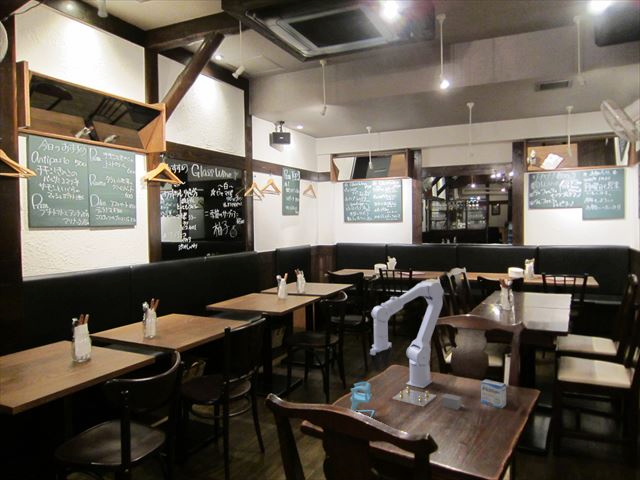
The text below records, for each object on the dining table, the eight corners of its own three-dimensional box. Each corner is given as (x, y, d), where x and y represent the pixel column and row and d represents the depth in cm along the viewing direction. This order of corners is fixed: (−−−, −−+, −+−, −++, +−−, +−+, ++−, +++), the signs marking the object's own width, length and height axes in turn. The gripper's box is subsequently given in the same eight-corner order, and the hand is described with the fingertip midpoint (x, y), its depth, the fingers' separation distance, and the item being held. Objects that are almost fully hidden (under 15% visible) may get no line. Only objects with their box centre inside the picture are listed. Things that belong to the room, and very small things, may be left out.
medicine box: (480, 404, 165) (480, 381, 165) (485, 400, 169) (485, 378, 168) (502, 409, 160) (501, 386, 160) (506, 406, 163) (506, 383, 163)
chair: (352, 410, 162) (352, 378, 162) (374, 412, 160) (374, 380, 159) (347, 419, 155) (346, 385, 155) (370, 421, 152) (369, 387, 152)
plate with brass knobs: (405, 391, 180) (405, 383, 180) (436, 397, 173) (436, 390, 173) (392, 400, 171) (392, 392, 171) (423, 407, 163) (423, 399, 163)
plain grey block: (441, 402, 170) (441, 390, 170) (470, 408, 163) (470, 396, 163) (432, 409, 162) (432, 397, 162) (462, 416, 156) (462, 404, 156)
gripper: (380, 330, 189) (381, 362, 190) (363, 337, 178) (364, 371, 178) (395, 332, 185) (396, 364, 185) (378, 340, 173) (379, 374, 174)
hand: (381, 368), depth 181 cm, fingers open, 7 cm apart
